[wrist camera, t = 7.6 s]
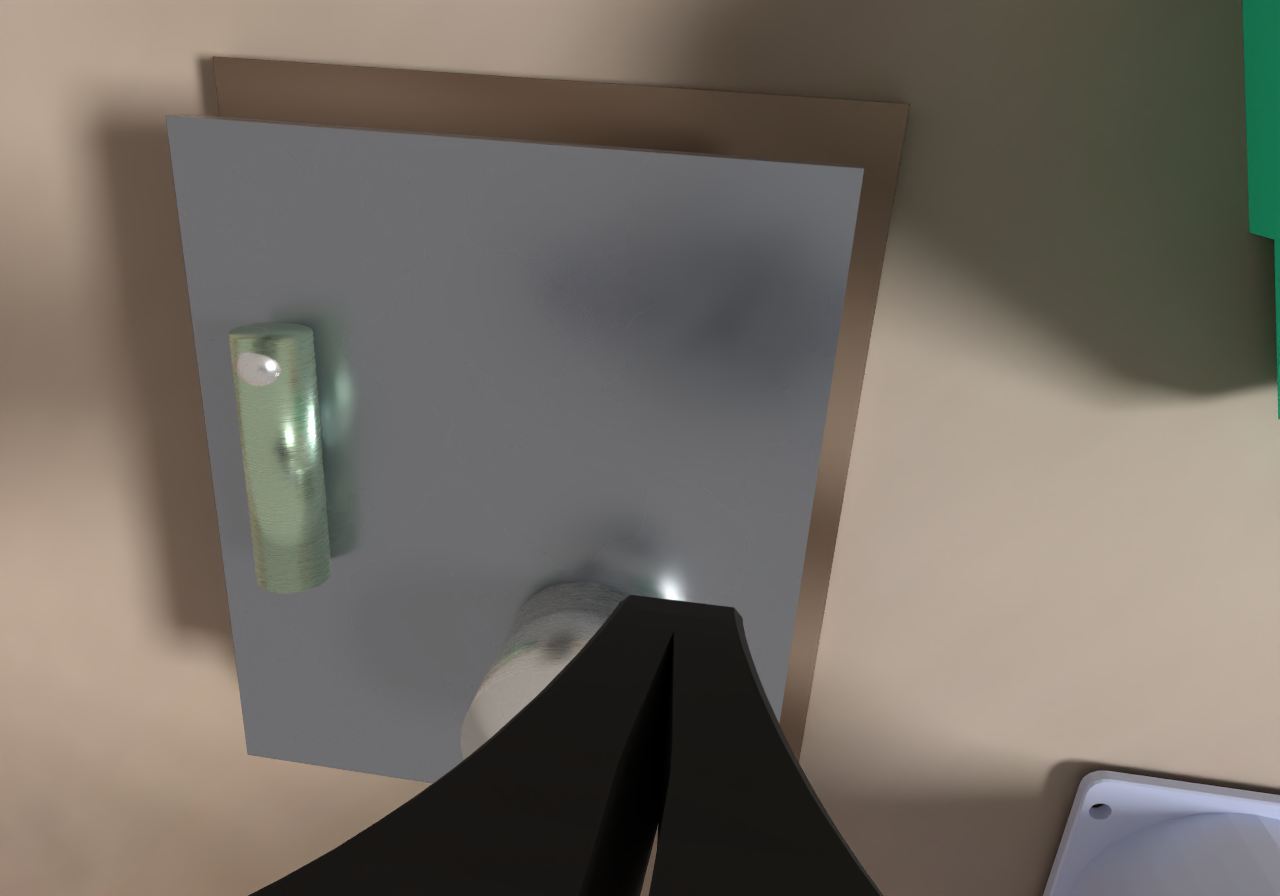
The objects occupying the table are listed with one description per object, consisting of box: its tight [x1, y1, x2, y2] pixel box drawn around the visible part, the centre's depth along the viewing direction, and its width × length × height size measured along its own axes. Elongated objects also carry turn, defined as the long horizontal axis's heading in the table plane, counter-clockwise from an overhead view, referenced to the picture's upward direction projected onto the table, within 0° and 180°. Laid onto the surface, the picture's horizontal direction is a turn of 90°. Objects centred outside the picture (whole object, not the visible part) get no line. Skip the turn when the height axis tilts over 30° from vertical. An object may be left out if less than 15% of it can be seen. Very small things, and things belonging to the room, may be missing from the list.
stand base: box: [213, 57, 910, 762], centre depth 20 cm, size 16×14×3 cm
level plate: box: [166, 115, 864, 783], centre depth 16 cm, size 14×12×4 cm
